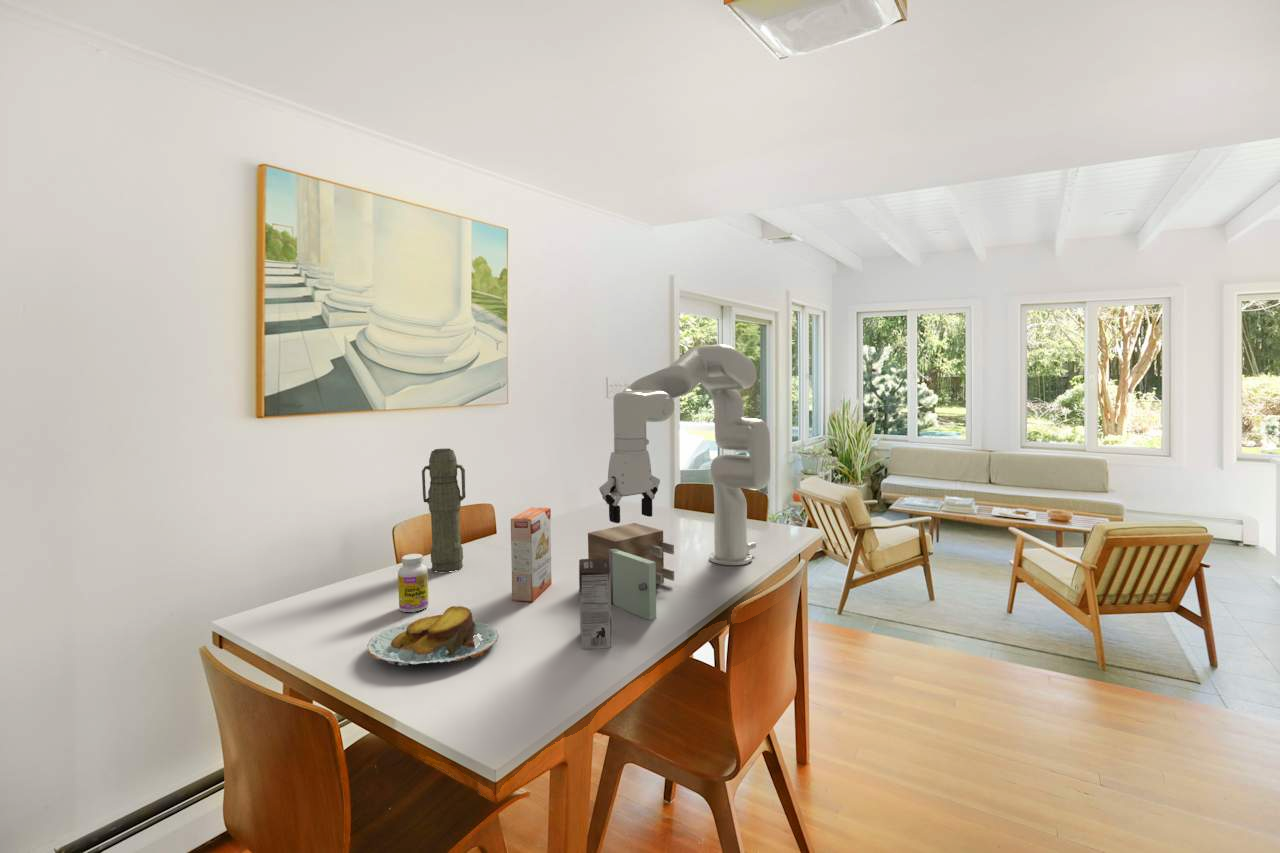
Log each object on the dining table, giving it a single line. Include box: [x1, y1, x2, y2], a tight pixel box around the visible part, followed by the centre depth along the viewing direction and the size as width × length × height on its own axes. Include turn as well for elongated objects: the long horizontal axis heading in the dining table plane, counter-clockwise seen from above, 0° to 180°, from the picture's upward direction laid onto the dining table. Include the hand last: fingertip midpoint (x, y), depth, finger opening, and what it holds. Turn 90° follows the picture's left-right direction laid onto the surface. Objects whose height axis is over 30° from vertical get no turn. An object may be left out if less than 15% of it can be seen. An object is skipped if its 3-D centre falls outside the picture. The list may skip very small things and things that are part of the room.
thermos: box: [421, 448, 466, 573], centre depth 178 cm, size 9×12×35 cm
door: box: [609, 549, 657, 621], centre depth 144 cm, size 3×15×13 cm, turn 40°
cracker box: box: [510, 507, 552, 603], centre depth 157 cm, size 14×6×21 cm, turn 168°
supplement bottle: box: [397, 553, 429, 613], centre depth 147 cm, size 7×7×13 cm
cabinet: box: [587, 522, 675, 585], centre depth 161 cm, size 16×16×14 cm
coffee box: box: [578, 558, 612, 650], centre depth 128 cm, size 9×6×16 cm
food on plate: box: [367, 605, 499, 666], centre depth 125 cm, size 25×25×7 cm
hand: (631, 518), depth 142 cm, fingers open, 9 cm apart
